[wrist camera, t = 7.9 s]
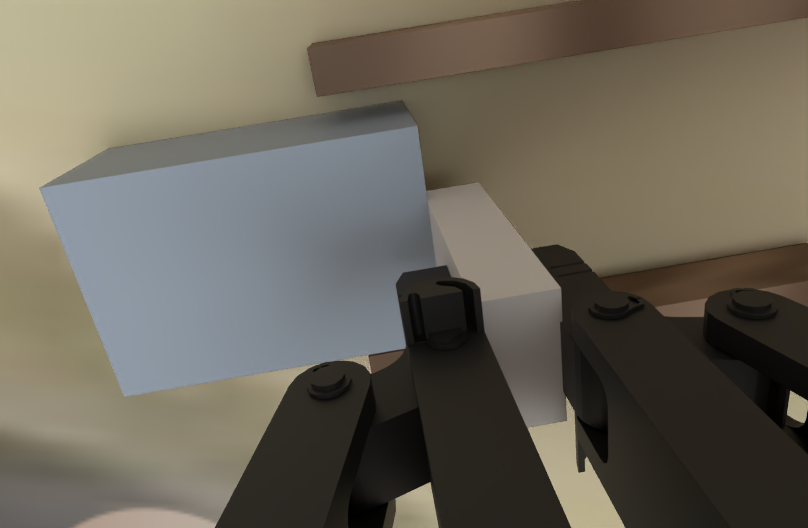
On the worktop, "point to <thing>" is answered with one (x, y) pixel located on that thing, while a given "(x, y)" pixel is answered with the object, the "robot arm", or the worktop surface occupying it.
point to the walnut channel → (559, 37)
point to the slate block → (247, 245)
